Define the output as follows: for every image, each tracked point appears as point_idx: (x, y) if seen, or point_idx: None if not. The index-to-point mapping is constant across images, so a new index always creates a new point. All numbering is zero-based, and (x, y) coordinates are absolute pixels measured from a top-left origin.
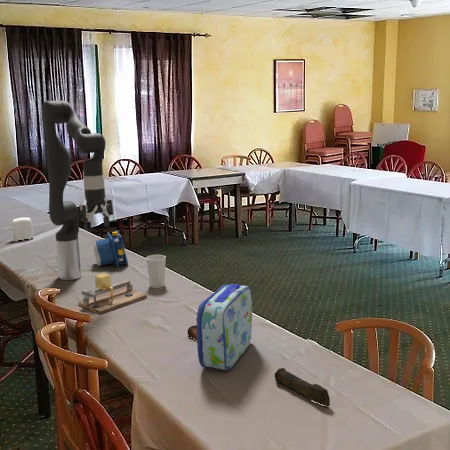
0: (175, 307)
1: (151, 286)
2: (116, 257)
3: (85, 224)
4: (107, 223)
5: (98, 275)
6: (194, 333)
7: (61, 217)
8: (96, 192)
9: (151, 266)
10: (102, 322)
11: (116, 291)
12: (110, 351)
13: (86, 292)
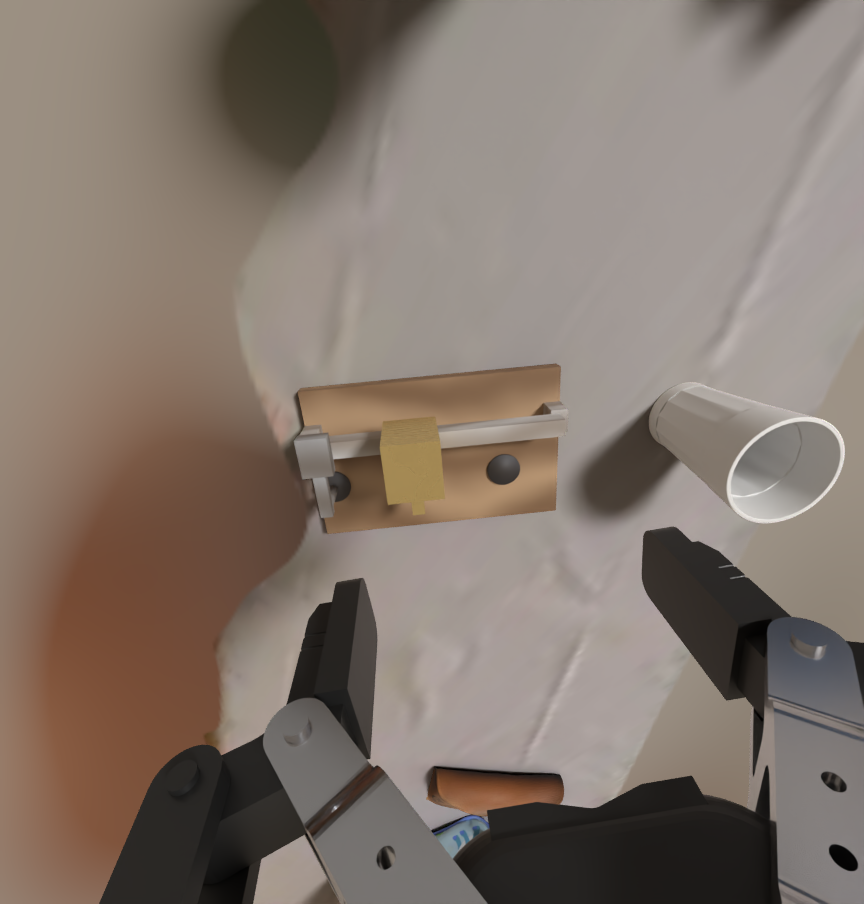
0: (547, 627)
1: (650, 420)
2: None
3: (299, 683)
4: (672, 621)
5: (395, 461)
6: (435, 796)
7: None
8: None
9: (704, 477)
10: (301, 587)
11: (496, 392)
12: (237, 734)
13: (303, 476)
